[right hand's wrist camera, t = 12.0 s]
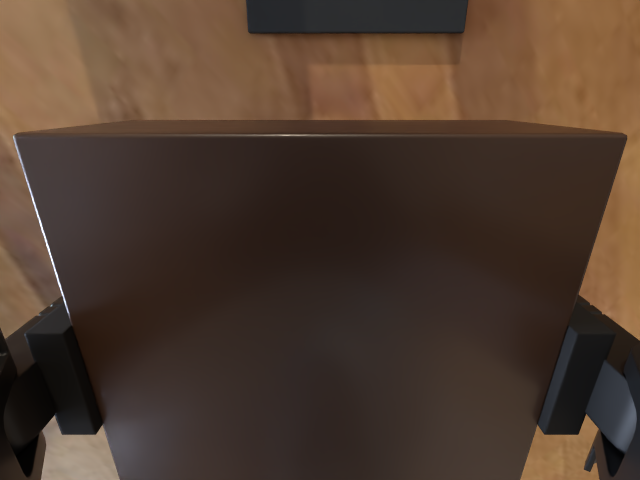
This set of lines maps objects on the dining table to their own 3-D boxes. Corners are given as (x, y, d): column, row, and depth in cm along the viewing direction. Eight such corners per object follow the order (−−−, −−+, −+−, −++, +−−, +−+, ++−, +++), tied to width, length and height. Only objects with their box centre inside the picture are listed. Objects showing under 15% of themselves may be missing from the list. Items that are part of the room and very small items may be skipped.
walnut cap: (185, 403, 13) (132, 524, 9) (132, 120, 9) (8, 133, 6) (454, 403, 13) (507, 524, 9) (507, 120, 9) (632, 133, 6)
